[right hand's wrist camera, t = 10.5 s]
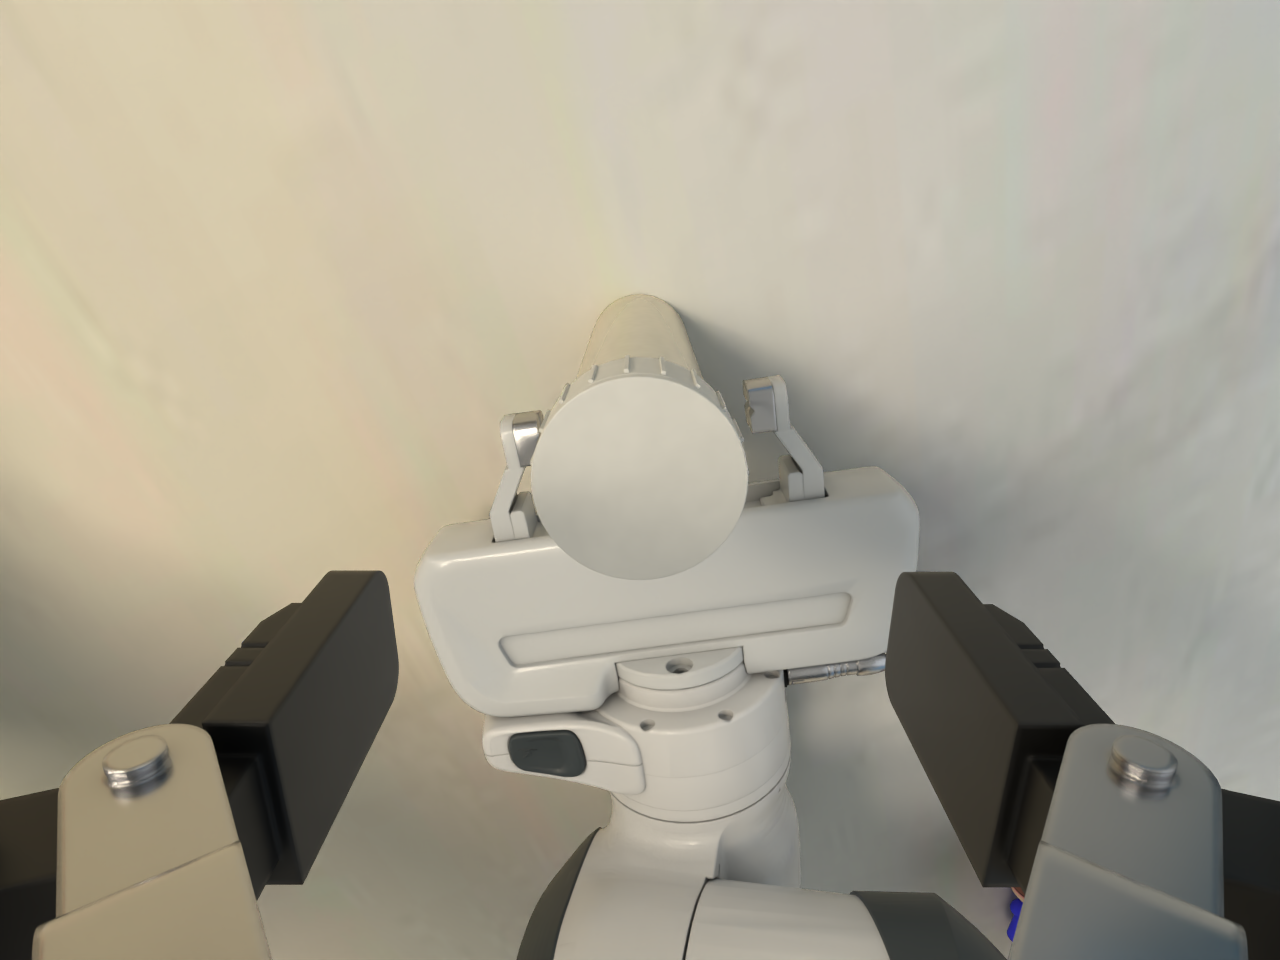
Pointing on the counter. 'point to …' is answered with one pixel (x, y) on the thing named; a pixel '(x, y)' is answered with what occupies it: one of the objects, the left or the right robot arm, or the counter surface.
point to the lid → (639, 469)
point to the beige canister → (639, 334)
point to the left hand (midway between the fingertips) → (640, 397)
